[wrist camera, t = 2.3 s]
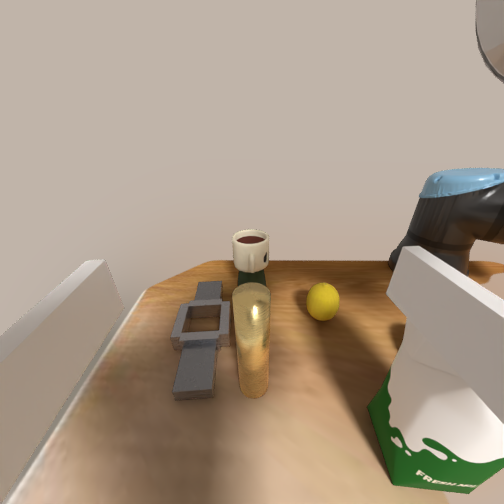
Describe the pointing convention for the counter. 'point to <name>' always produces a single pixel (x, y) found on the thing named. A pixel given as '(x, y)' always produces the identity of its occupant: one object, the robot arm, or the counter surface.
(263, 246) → the character mug
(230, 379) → the counter surface
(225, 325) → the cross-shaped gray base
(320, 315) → the lemon
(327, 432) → the counter surface
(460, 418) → the milk carton
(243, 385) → the link pin
